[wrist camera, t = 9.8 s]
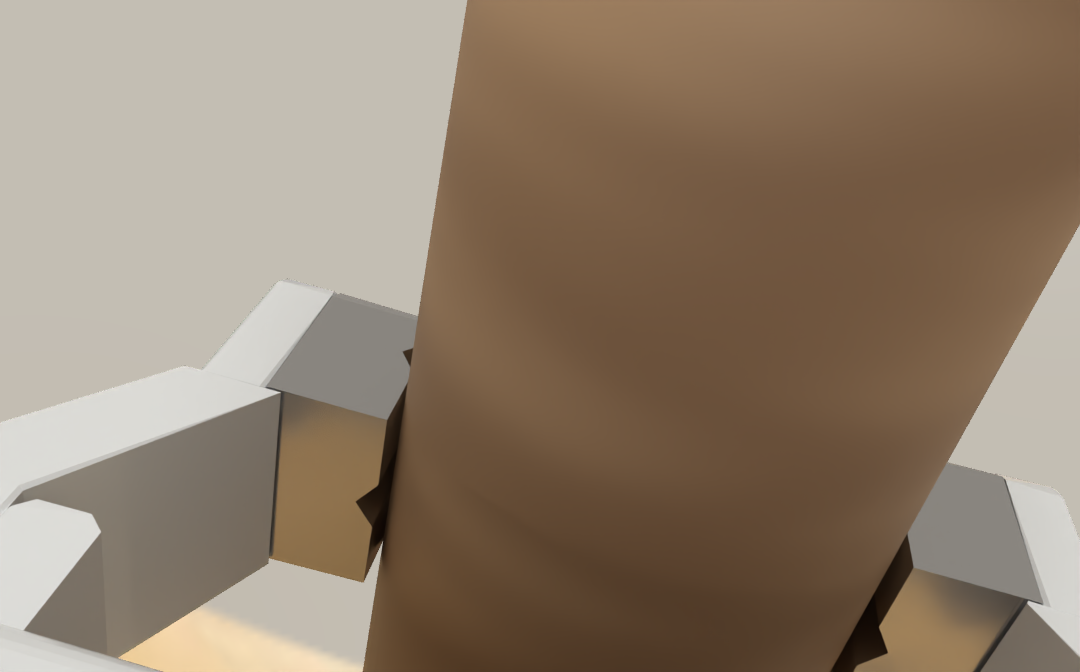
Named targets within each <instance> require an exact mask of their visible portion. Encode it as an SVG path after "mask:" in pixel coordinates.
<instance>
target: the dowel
mask: <svg viewBox="0 0 1080 672" xmlns="http://www.w3.org/2000/svg"><path fill="white" fill-rule="evenodd" d="M1079 225H1080V0H468V1H467V7H466V13H465V19H464V25H463V32H462V38H461V45H460V51H459V58H458V64H457V71H456V77H455V84H454V90H453V97H452V103H451V109H450V116H449V122H448V128H447V135H446V141H445V148H444V154H443V161H442V167H441V173H440V180H439V186H438V192H437V199H436V205H435V212H434V218H433V224H432V231H431V237H430V244H429V250H428V257H427V263H426V270H425V276H424V283H423V289H422V295H421V302H420V308H419V315H418V321H417V327H416V334H415V340H414V346H413V353H412V359H411V366H410V372H409V379H408V385H407V391H406V398H405V404H404V411H403V417H402V423H401V430H400V436H399V443H398V449H397V456H396V462H395V468H394V475H393V481H392V488H391V494H390V501H389V507H388V513H387V520H386V526H385V533H384V539H383V546H382V553H381V558H380V565H379V571H378V578H377V584H376V590H375V597H374V603H373V610H372V616H371V622H370V629H369V635H368V642H367V648H366V655H365V661H364V667H363V672H830V671H831V670H832V668H833V666H834V664H835V662H836V661H837V659H838V657H839V655H840V653H841V652H842V650H843V648H844V646H845V644H846V643H847V641H848V639H849V637H850V636H851V634H852V632H853V630H854V628H855V627H856V625H857V623H858V621H859V619H860V618H861V616H862V614H863V612H864V610H865V609H866V607H867V605H868V603H869V601H870V600H871V598H872V596H873V594H874V592H875V591H876V589H877V587H878V585H879V583H880V582H881V580H882V578H883V576H884V575H885V573H886V571H887V569H888V567H889V566H890V564H891V562H892V560H893V558H894V557H895V555H896V553H897V551H898V549H899V548H900V546H901V544H902V542H903V540H904V539H905V537H906V535H907V533H908V531H909V530H910V528H911V526H912V524H913V522H914V521H915V519H916V517H917V515H918V514H919V512H920V510H921V508H922V506H923V505H924V503H925V501H926V499H927V497H928V496H929V494H930V492H931V490H932V488H933V487H934V485H935V483H936V481H937V479H938V478H939V476H940V474H941V472H942V470H943V469H944V467H945V465H946V463H947V462H948V460H949V458H950V456H951V454H952V452H953V451H954V449H955V447H956V445H957V444H958V442H959V440H960V438H961V436H962V435H963V433H964V431H965V429H966V427H967V426H968V424H969V422H970V420H971V418H972V417H973V415H974V413H975V411H976V409H977V408H978V406H979V404H980V402H981V400H982V399H983V397H984V395H985V393H986V392H987V390H988V388H989V386H990V384H991V383H992V380H993V379H994V377H995V375H996V374H997V372H998V370H999V368H1000V366H1001V365H1002V363H1003V361H1004V359H1005V357H1006V356H1007V354H1008V352H1009V350H1010V348H1011V347H1012V345H1013V343H1014V341H1015V340H1016V338H1017V336H1018V334H1019V332H1020V331H1021V329H1022V327H1023V325H1024V323H1025V321H1026V320H1027V318H1028V316H1029V314H1030V312H1031V311H1032V309H1033V307H1034V305H1035V303H1036V302H1037V300H1038V298H1039V296H1040V295H1041V293H1042V291H1043V289H1044V288H1045V286H1046V284H1047V282H1048V280H1049V279H1050V276H1051V275H1052V273H1053V271H1054V270H1055V268H1056V266H1057V264H1058V262H1059V260H1060V258H1061V257H1062V255H1063V253H1064V252H1065V250H1066V248H1067V246H1068V244H1069V243H1070V241H1071V239H1072V237H1073V235H1074V234H1075V232H1076V230H1077V228H1078V226H1079Z"/></svg>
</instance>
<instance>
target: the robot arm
mask: <svg viewBox="0 0 1080 672" xmlns="http://www.w3.org/2000/svg"><path fill="white" fill-rule="evenodd" d="M417 321H418V316H415V315H412V314H408V313H405V312H402V311H398V310H395V309H392V308H388V307H385V306H381V305H378V304H375V303H371V302H368V301H365V300H361V299H358V298H354V297H351V296H348V295H344V294H337V293H335V292H334V291H332V290H328V289H324V288H320V287H317V286H312V285H309V284H305V283H301V282H298V281H294V280H290V279H285V280H281V281H278V282H277V283H275V285H273V287H272V288H271V289H270V290H269V291H268V292H267V294H266V295H265V296H264V297H263V298H262V299H261V301H260V302H259V303H258V304H257V305H256V306H255V307H254V309H253V310H252V311H251V312H250V313H249V314H248V316H247V317H246V318H245V319H244V320H243V322H242V323H241V324H240V325H239V326H238V327H237V329H236V330H235V331H234V332H233V333H232V334H231V335H230V337H229V338H228V339H227V340H226V341H225V342H224V344H223V345H222V346H221V347H220V348H219V349H218V350H217V352H216V353H215V354H214V355H213V356H212V358H211V359H210V360H209V361H208V362H207V363H206V365H205V366H204V367H203V368H202V369H201V370H199V369H196V368H192V367H189V366H182V367H179V368H175V369H172V370H169V371H166V372H162V373H159V374H156V375H153V376H150V377H147V378H143V379H140V380H136V381H134V382H130V383H127V384H123V385H120V386H117V387H114V388H110V389H107V390H104V391H101V392H98V393H94V394H91V395H88V396H85V397H81V398H78V399H75V400H72V401H68V402H65V403H62V404H59V405H55V406H52V407H49V408H46V409H43V410H39V411H36V412H33V413H29V414H26V415H23V416H20V417H17V418H13V419H10V420H7V421H4V422H0V672H162V671H159V670H156V669H152V668H149V667H145V666H142V665H139V664H135V663H132V662H129V661H125V660H122V659H118V657H120V656H121V655H123V654H124V653H126V652H128V651H129V650H131V649H132V648H134V647H136V646H137V645H139V644H140V643H142V642H144V641H145V640H147V639H148V638H150V637H152V636H153V635H155V634H156V633H158V632H160V631H161V630H163V629H164V628H166V627H168V626H169V625H171V624H172V623H174V622H176V621H177V620H179V619H180V618H182V617H184V616H185V615H187V614H188V613H190V612H192V611H193V610H195V609H196V608H198V607H200V606H201V605H203V604H204V603H206V602H208V601H209V600H211V599H212V598H214V597H216V596H217V595H219V594H220V593H222V592H224V591H225V590H227V589H228V588H230V587H231V586H233V585H235V584H236V583H238V582H240V581H241V580H243V579H244V578H246V577H248V576H249V575H251V574H252V573H254V572H256V571H257V570H259V569H260V568H262V567H264V566H265V565H267V564H268V559H269V558H270V559H274V560H278V561H282V562H286V563H290V564H294V565H297V566H301V567H305V568H309V569H313V570H317V571H321V572H324V573H328V574H332V575H336V576H340V577H344V578H347V579H352V580H355V581H359V582H364V580H365V578H366V576H367V574H368V572H369V569H370V567H371V565H372V563H373V561H374V559H375V557H376V554H377V552H378V550H379V548H380V546H381V544H382V542H383V539H384V533H385V526H386V520H387V513H388V507H389V501H390V494H391V488H392V481H393V475H394V468H395V462H396V456H397V449H398V443H399V436H400V430H401V423H402V417H403V411H404V404H405V398H406V391H407V385H408V379H409V372H410V366H411V359H412V353H413V346H414V340H415V334H416V327H417ZM830 672H1080V539H1079V536H1078V534H1077V531H1076V529H1075V526H1074V524H1073V521H1072V519H1071V516H1070V513H1069V511H1068V508H1067V506H1066V503H1065V501H1064V498H1063V497H1062V495H1061V494H1059V493H1058V492H1057V491H1056V490H1055V489H1054V488H1053V487H1049V486H1045V485H1041V484H1036V483H1032V482H1028V481H1024V480H1020V479H1015V478H1011V477H1007V476H1003V475H998V474H991V473H987V472H983V471H979V470H975V469H971V468H967V467H963V466H959V465H955V464H952V463H948V462H947V463H946V465H945V467H944V469H943V470H942V472H941V474H940V476H939V478H938V479H937V481H936V483H935V485H934V487H933V488H932V490H931V492H930V494H929V496H928V497H927V499H926V501H925V503H924V505H923V506H922V508H921V510H920V512H919V514H918V515H917V517H916V519H915V521H914V522H913V524H912V526H911V528H910V530H909V531H908V533H907V535H906V537H905V539H904V540H903V542H902V544H901V546H900V548H899V549H898V551H897V553H896V555H895V557H894V558H893V560H892V562H891V564H890V566H889V567H888V569H887V571H886V573H885V575H884V576H883V578H882V580H881V582H880V583H879V585H878V587H877V589H876V591H875V592H874V594H873V596H872V598H871V600H870V601H869V603H868V605H867V607H866V609H865V610H864V612H863V614H862V616H861V618H860V619H859V621H858V623H857V625H856V627H855V628H854V630H853V632H852V634H851V636H850V637H849V639H848V641H847V643H846V644H845V646H844V648H843V650H842V652H841V653H840V655H839V657H838V659H837V661H836V662H835V664H834V666H833V668H832V670H831V671H830Z"/></svg>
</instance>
